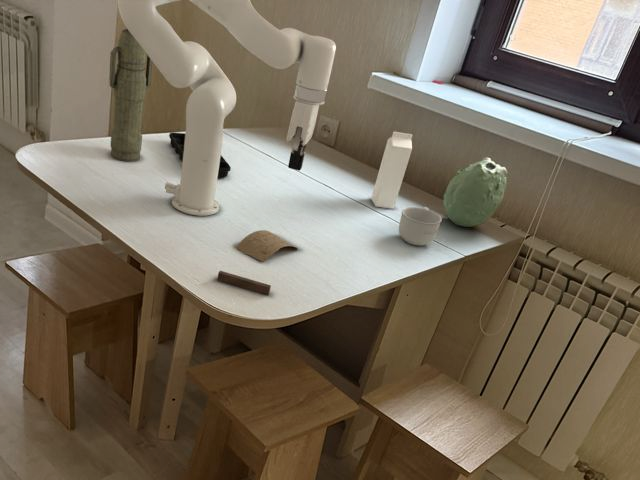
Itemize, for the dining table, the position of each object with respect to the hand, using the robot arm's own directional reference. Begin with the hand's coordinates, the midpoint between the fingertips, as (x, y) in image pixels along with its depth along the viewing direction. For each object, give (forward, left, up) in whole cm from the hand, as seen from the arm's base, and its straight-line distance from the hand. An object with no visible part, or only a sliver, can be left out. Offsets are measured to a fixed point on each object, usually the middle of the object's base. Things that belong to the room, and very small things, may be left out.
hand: (294, 168), depth 171 cm
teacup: (+35, +18, -17) cm, 43 cm away
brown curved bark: (0, -14, -17) cm, 22 cm away
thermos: (-54, +20, -17) cm, 60 cm away
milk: (+23, +38, -17) cm, 47 cm away
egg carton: (-35, +32, -17) cm, 51 cm away
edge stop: (0, -35, -17) cm, 39 cm away
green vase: (+48, +39, -17) cm, 64 cm away
